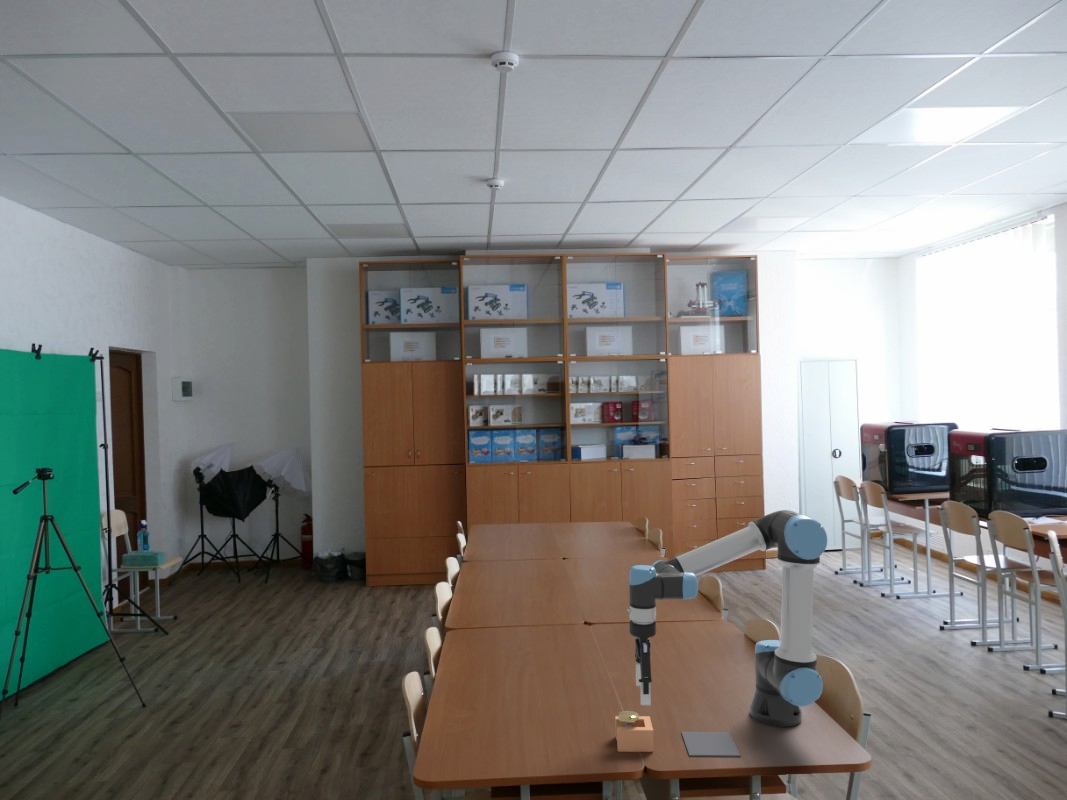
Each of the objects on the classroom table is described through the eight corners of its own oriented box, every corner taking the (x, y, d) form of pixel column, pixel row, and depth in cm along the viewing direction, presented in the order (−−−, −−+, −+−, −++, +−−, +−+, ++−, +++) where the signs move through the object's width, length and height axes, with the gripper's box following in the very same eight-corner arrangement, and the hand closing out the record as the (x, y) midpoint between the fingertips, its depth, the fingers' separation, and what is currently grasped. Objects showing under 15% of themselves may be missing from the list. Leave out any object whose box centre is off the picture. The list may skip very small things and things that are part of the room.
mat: (729, 733, 210) (729, 731, 210) (740, 756, 196) (740, 755, 196) (681, 733, 211) (681, 731, 211) (689, 756, 197) (689, 754, 197)
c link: (649, 736, 209) (649, 716, 209) (653, 751, 200) (653, 730, 200) (615, 736, 209) (615, 716, 209) (617, 751, 200) (617, 730, 200)
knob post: (638, 739, 207) (637, 710, 208) (640, 748, 201) (640, 719, 202) (617, 738, 208) (617, 710, 208) (619, 748, 202) (618, 719, 202)
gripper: (625, 608, 217) (626, 677, 217) (633, 634, 192) (633, 713, 192) (650, 608, 217) (651, 678, 217) (661, 634, 192) (662, 713, 192)
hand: (643, 694), depth 204 cm, fingers open, 13 cm apart
